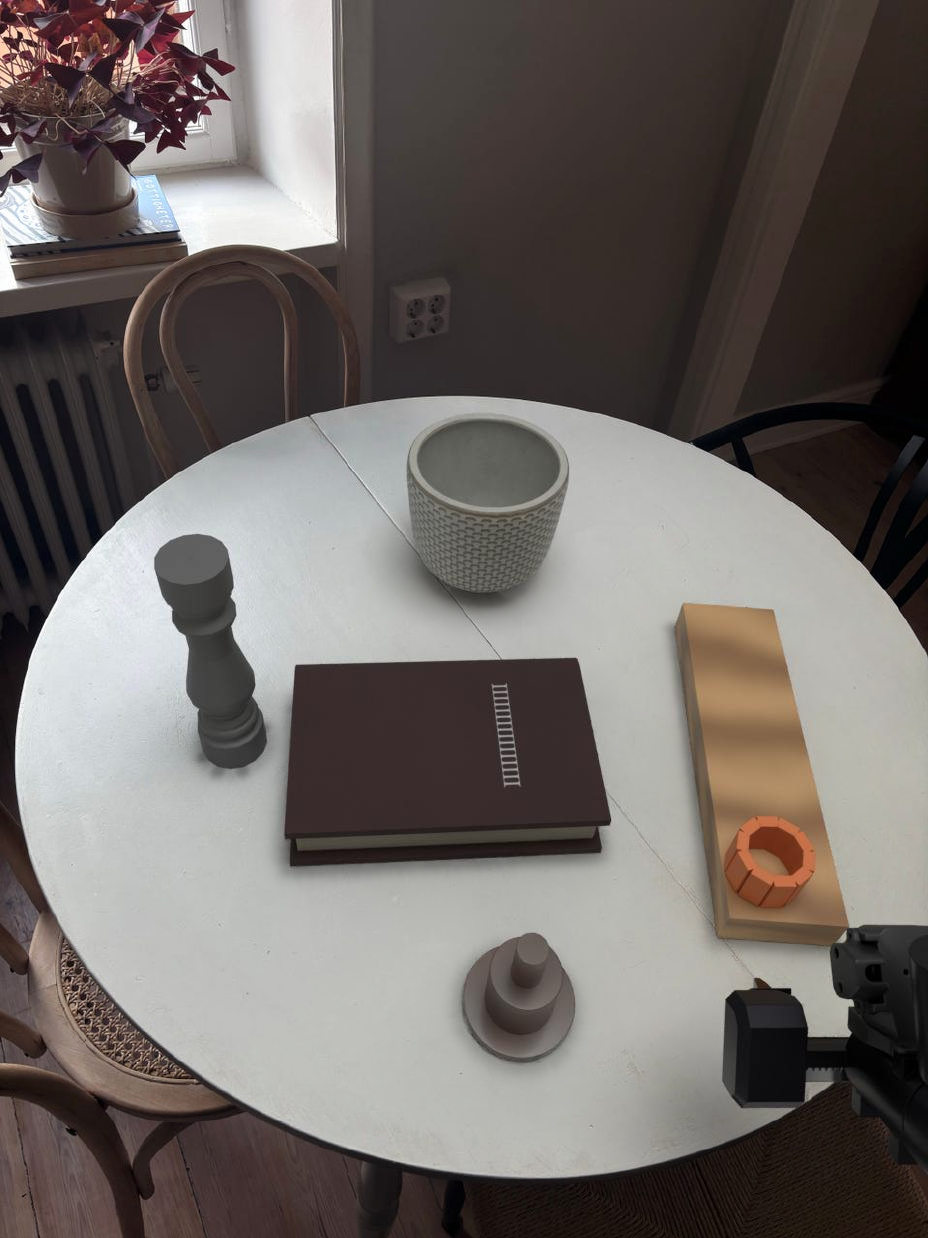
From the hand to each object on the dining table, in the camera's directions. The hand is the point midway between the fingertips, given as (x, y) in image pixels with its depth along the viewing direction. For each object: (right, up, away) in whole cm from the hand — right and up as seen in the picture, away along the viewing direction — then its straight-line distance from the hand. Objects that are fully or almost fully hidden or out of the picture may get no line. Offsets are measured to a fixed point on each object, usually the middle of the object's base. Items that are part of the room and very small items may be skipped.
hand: (821, 984), depth 62 cm
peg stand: (-20, -6, +11) cm, 24 cm away
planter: (-23, +31, +45) cm, 59 cm away
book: (-27, +10, +26) cm, 39 cm away
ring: (+1, +3, +16) cm, 16 cm away
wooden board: (+3, +10, +28) cm, 30 cm away
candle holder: (-47, +13, +27) cm, 56 cm away
